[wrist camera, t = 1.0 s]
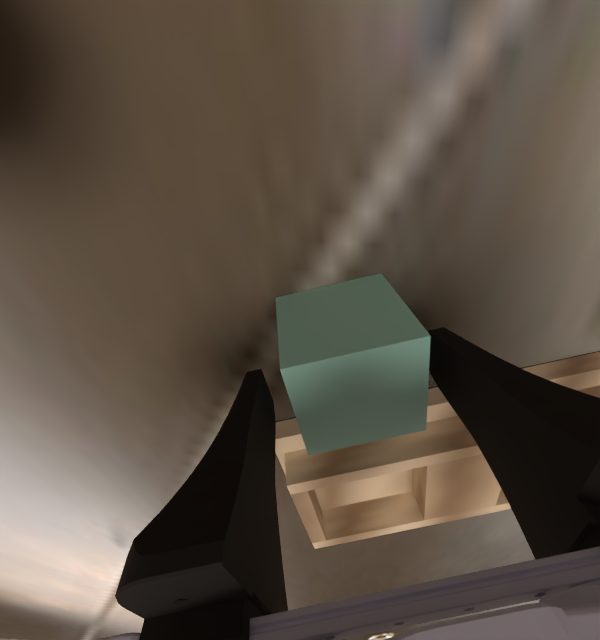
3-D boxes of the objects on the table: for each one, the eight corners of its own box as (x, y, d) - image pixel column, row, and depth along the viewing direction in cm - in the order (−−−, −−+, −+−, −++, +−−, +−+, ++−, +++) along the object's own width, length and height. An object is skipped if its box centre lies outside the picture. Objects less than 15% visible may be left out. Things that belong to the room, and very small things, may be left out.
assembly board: (627, 345, 18) (690, 383, 15) (568, 457, 25) (605, 497, 22) (270, 423, 19) (271, 473, 16) (306, 512, 25) (311, 557, 23)
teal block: (380, 272, 14) (430, 335, 10) (385, 353, 17) (426, 430, 12) (275, 296, 14) (279, 369, 10) (297, 373, 17) (308, 455, 13)
